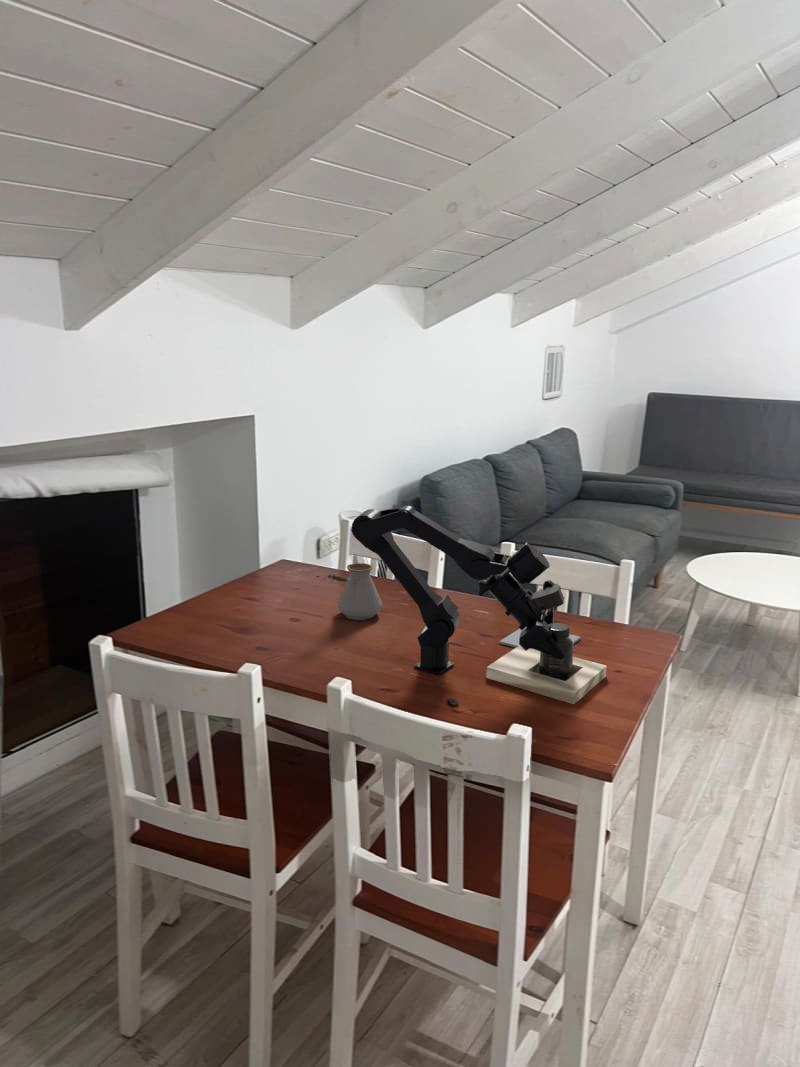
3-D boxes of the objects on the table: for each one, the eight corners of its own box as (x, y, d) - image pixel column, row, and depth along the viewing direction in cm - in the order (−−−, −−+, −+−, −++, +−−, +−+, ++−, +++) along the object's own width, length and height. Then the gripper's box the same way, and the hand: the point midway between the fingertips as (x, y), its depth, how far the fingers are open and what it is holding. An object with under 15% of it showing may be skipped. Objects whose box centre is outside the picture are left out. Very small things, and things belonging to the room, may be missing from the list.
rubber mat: (554, 658, 181) (554, 655, 181) (499, 643, 189) (499, 641, 189) (580, 639, 192) (580, 636, 192) (527, 625, 200) (527, 623, 200)
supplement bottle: (577, 679, 170) (581, 626, 167) (560, 690, 166) (563, 635, 163) (550, 669, 175) (553, 618, 172) (532, 679, 170) (535, 626, 167)
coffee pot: (351, 604, 214) (351, 550, 210) (390, 611, 209) (390, 555, 205) (307, 631, 195) (306, 572, 192) (349, 639, 191) (348, 579, 187)
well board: (574, 704, 160) (574, 692, 159) (486, 677, 171) (486, 666, 170) (605, 676, 172) (606, 665, 171) (522, 653, 183) (522, 643, 183)
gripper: (539, 587, 156) (593, 645, 157) (544, 560, 174) (593, 612, 174) (496, 621, 160) (550, 678, 161) (506, 591, 178) (554, 642, 178)
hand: (563, 651), depth 168 cm, fingers closed on supplement bottle, 7 cm apart
